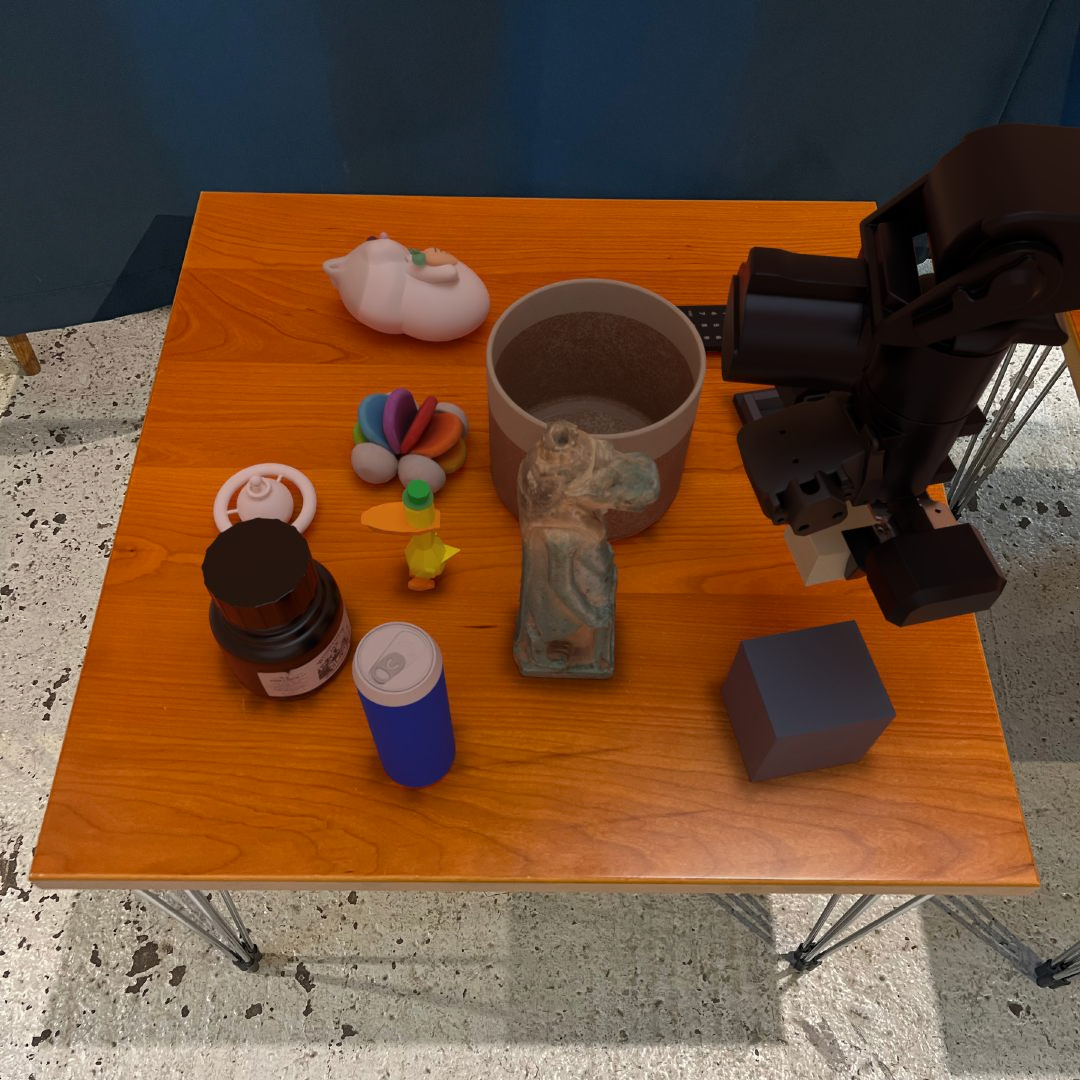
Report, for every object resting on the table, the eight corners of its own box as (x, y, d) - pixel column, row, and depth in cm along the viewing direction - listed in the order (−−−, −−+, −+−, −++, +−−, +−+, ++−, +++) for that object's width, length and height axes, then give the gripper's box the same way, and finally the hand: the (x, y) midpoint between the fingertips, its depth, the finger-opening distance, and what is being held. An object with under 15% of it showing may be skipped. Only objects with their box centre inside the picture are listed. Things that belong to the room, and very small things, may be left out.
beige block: (868, 519, 64) (884, 487, 61) (893, 569, 62) (911, 539, 59) (782, 535, 63) (794, 503, 60) (804, 587, 61) (818, 557, 58)
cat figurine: (498, 246, 82) (324, 208, 82) (478, 338, 82) (304, 301, 82) (499, 279, 92) (343, 245, 92) (482, 361, 92) (325, 328, 91)
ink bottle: (296, 730, 68) (258, 652, 58) (202, 668, 71) (149, 584, 61) (380, 626, 73) (358, 538, 63) (289, 572, 75) (254, 479, 65)
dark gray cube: (824, 671, 71) (855, 618, 65) (860, 761, 68) (897, 715, 61) (719, 690, 70) (740, 639, 64) (750, 783, 67) (776, 738, 60)
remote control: (515, 318, 91) (515, 307, 90) (769, 315, 92) (772, 304, 91) (516, 360, 88) (516, 349, 87) (778, 355, 89) (782, 345, 88)
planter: (714, 509, 79) (748, 396, 68) (537, 576, 75) (540, 467, 64) (626, 377, 87) (643, 255, 76) (462, 431, 83) (453, 311, 72)
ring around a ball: (313, 469, 81) (215, 487, 79) (301, 426, 76) (196, 445, 75) (326, 549, 77) (223, 569, 75) (314, 510, 72) (204, 531, 71)
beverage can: (417, 705, 69) (394, 601, 57) (471, 749, 68) (460, 651, 55) (365, 758, 67) (330, 662, 55) (420, 805, 65) (396, 717, 53)
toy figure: (374, 600, 74) (351, 509, 64) (378, 560, 76) (356, 466, 66) (463, 599, 74) (454, 508, 64) (464, 559, 76) (455, 465, 66)
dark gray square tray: (828, 386, 87) (835, 367, 85) (871, 474, 82) (880, 455, 79) (732, 400, 86) (737, 381, 84) (769, 490, 80) (776, 472, 78)
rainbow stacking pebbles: (450, 511, 79) (444, 455, 73) (339, 482, 80) (324, 425, 74) (483, 433, 83) (480, 374, 77) (377, 408, 85) (366, 348, 79)
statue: (629, 688, 70) (676, 481, 49) (514, 693, 70) (511, 486, 49) (620, 605, 74) (659, 380, 53) (510, 609, 74) (507, 385, 53)
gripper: (712, 279, 53) (675, 457, 66) (844, 562, 43) (770, 706, 56) (901, 252, 55) (828, 431, 68) (1071, 519, 45) (947, 669, 58)
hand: (838, 548), depth 62 cm, fingers closed on beige block, 4 cm apart
